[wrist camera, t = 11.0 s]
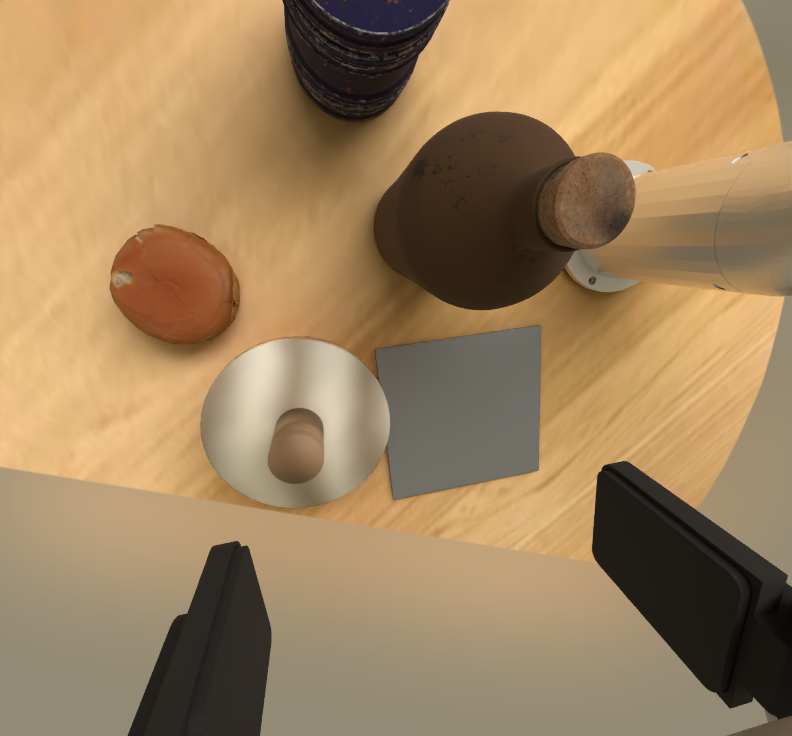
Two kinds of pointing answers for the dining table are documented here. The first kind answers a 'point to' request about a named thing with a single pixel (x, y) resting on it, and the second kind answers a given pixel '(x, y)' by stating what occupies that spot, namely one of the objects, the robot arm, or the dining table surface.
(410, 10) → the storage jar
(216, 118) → the dining table surface
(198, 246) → the burger
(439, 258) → the olive oil
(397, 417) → the mat
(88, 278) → the dining table surface
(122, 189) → the dining table surface
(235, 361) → the lid
